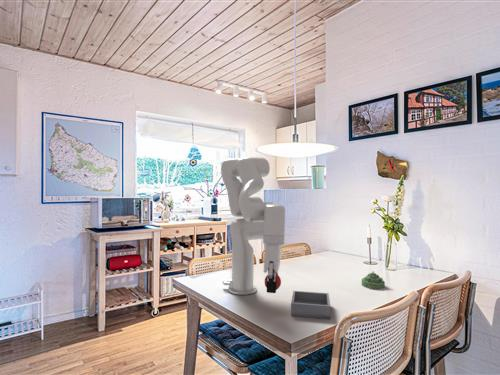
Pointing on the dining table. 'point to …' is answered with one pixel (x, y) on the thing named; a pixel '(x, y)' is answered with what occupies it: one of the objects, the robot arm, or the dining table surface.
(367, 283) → the decorative artifact
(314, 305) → the tray
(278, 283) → the onion
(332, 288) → the dining table surface
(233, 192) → the robot arm
